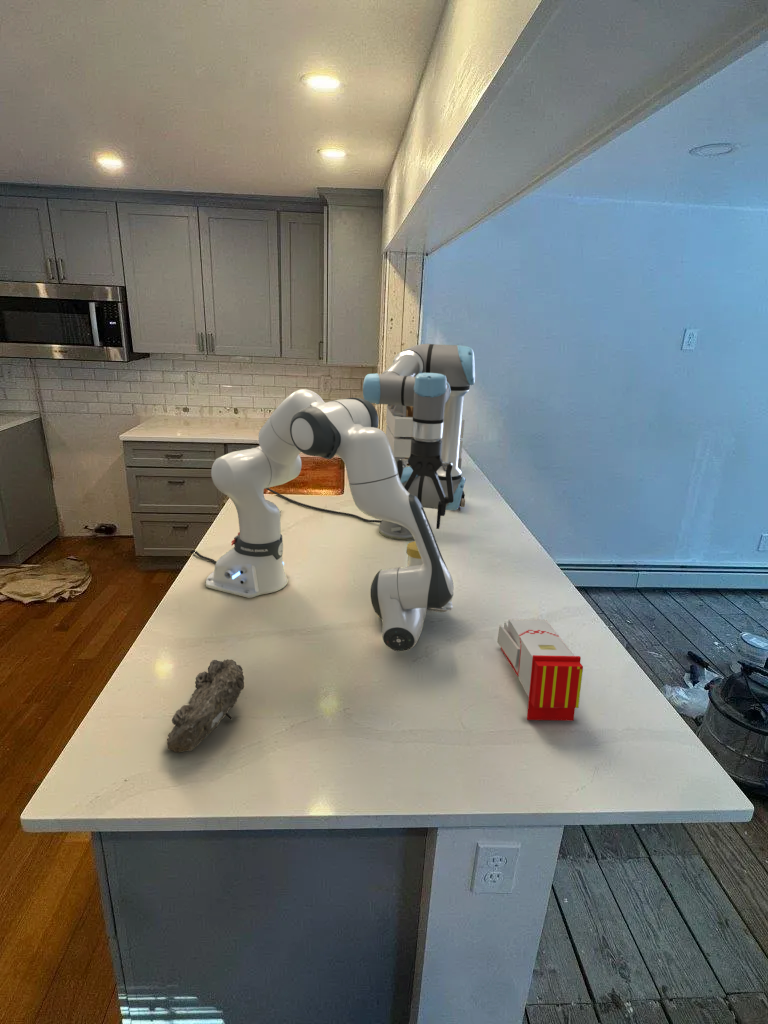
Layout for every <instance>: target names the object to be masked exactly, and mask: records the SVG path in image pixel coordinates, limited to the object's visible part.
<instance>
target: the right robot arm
mask: <svg viewBox="0 0 768 1024" xmlns="http://www.w3.org/2000/svg"><path fill="white" fill-rule="evenodd" d="M474 352H475V351H474V349H473V348H472V347H470V346H466V345H459V344H438V343H437V344H436V343H435V344H434V343H419V344H416V345H412V346H409V347H406V348H404V349H403V350H401V351H400V352H398V353H397V354H396V355H395V356H394V358H393V360H392V363H391V364H390V365H389V366H388V367H387V368H386V369H385V370H384V371H383V372H382V373H378V372H376V373H368V374H366V375H365V376H364V379H363V384H362V397H363V399H365V400H367V401H369V402H370V403H371V404H376V405H386V406H387V405H402V406H413V420H412V437H414V438H412V440H411V452H410V457H409V459H402V458H399V460H398V462H397V466H398V468H397V469H398V474H399V478H400V481H401V483H402V485H403V486H404V488H405V489H406V490H407V492H408V493H409V494H411V495H414V496H416V497H417V498H418V499H419V501H420V503H421V505H422V507H423V509H424V508H425V509H433V510H437V513H436V527H435V529H436V530H440V527H441V517H445V515H446V511H457V510H459V509H458V507H459V504H460V501H461V497H462V492H463V491H464V487H465V483H466V478H465V476H462V475H463V474H462V469H461V470H460V469H459V468H458V458H459V446H460V439H461V438H460V435H461V424H462V419H463V410H464V402H465V401H464V399H465V395H466V394H467V393H468V392H469V391H470V388H471V386H474V385H475V382H476V364H475V363H476V362H475V353H474ZM408 463H409V465H410V466H407V464H408ZM264 490H267V491H268V492H270V493H273V494H274V495H276V496H278V497H280V498H281V499H284V500H286V501H287V502H288V501H289V502H291V503H293V504H295V505H298V506H301V507H305V508H308V509H312V510H316V511H319V512H325V513H330V514H335V515H341V516H347V517H352V518H354V519H358V520H360V521H362V522H366V523H377V524H379V525H378V533H379V534H380V535H381V536H382V537H385V538H387V539H389V540H395V541H410V540H414V538H413V535H412V534H411V532H410V531H409V530H408V529H407V528H405V527H403V526H401V525H399V524H396V523H393V522H389V521H384V520H379V519H367V518H364V517H361V516H360V515H356V514H353V513H349V512H344V511H338V510H333V509H332V510H331V509H326V508H321V507H316V506H313V505H309V504H306V503H302V502H299V501H297V500H295V499H292V498H289V497H287V496H285V495H283V494H281V493H279V492H277V491H276V490H273V489H271V488H270V487H269V488H265V489H264Z"/></svg>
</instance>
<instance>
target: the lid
mask: <svg viewBox="0 0 768 1024" xmlns="http://www.w3.org/2000/svg"><path fill="white" fill-rule="evenodd" d="M406 555H407V557H408V556H410V557H413V558H418V559H422V558H421V556H420V553H419V551H418V548H417V545H416V543H415V540H414V541H410V542H408V543H407V546H406Z"/></svg>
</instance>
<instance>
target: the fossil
mask: <svg viewBox="0 0 768 1024" xmlns="http://www.w3.org/2000/svg"><path fill="white" fill-rule="evenodd" d="M243 670H244V669H243V667H242V665H240V664H237V662H236V661H235V660H234V659H232V658H231V659H227V658H226V659H224V660H223V661H222V660H217V659H212V660H211V661H210V663H209V665H208V666H207V671H201V672H199V673H198V674H197V675H196V676H195V680H194V684H195V685H194V687H195V689H194V690H193V693H192V694H191V697H190V698H189V700H188V704H184V705H182V706H181V707H180V709H177V710H176V711H175V713H174V715H173V716H172V718H171V723H172V724H173V727H172V730H171V731H170V732H168V734H167V738H166V741H167V742H166V745H167V749H168V750H169V751H173V752H174V753H176V754H178V753H182V752H188V751H189V752H192V751H193V750H195V748H196V747H197V746H199V744H200V743H201V742H203V741H204V740H205V739H206V738H207V737H208V736H209V735H210V734H211V733H212V732H214V730H215V729H217V727H218V726H219V724H220V722H221V721H222V720H223V719H224V718H225V716H226V717H227V719H229V720H233V717H232V715H230V714H229V710H230V709H231V708H234V706H235V704H236V703H237V702H238V699H239V697H240V695H241V693H242V691H243V690H245V689H244V688H245V675H244V671H243Z"/></svg>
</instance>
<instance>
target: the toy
mask: <svg viewBox="0 0 768 1024" xmlns="http://www.w3.org/2000/svg"><path fill="white" fill-rule="evenodd" d="M498 626H499V627H498V634H497V644H498V646H500V650H501V652H502V653H503V655H504V657H505V658H506V661H508V663H509V665H510V667H511V668H512V670H513V671H514V673H515V675H516V677H518V680H519V682H520V684H521V686H522V687H523V690H524V692H525V693H526V695H527V697H528V702H527V703H528V704H527V712H526V720H527V721H562V722H563V721H567V722H568V721H570V722H572V721H574V719H575V714H576V713H575V712H576V709H578V708H579V705H580V697H581V687H582V680H583V672H584V671H583V670H584V666H583V664H582V663H581V656H580V655H575V654H574V653H573V651H572V650H571V649H570V648H569V647H568V646H567V644H566V643H565V642H564V640H563V639H562V638H561V636H560V635H559V634H558V633H557V631H556V630H555V629H554V627H553V626H552V625H551V624H550V623H549V621H548V620H547V619H539V618H538V619H534V618H533V619H532V618H508V621H504V623H503V624H499V625H498Z"/></svg>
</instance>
